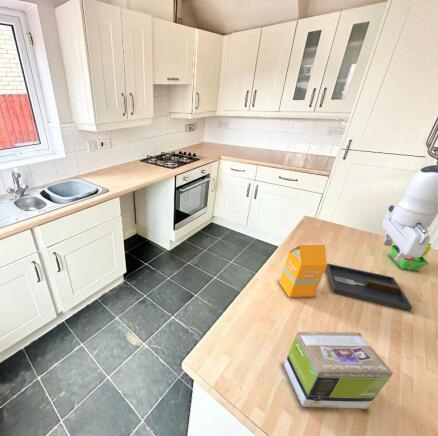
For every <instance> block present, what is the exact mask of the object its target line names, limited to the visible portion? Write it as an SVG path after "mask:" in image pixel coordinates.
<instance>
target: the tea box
mask: <svg viewBox="0 0 438 436" xmlns="http://www.w3.org/2000/svg"><path fill="white" fill-rule="evenodd" d="M283 367H284V370H285V371H286V373H287V375H288V378H289V380H290V383H291V385H292V386H293V389H294V391H295V393H296V396H297V398H298V400H299V402H300V404H301V405H302V407H308V408H336V409H362V410H363V409H368V408H369V406H370V405H371V403H372V402H373V400H374V399H375V398H376V397H377V396H378V394H379V393H380V392H381V391H382V389H383V388H384V386H385V385H386V383H388V381H389V379H390V378H391V377H392V375H393V374H394V372H393V371H392V370H391V369H390V367H389V366H388V365H387V364H386V362H384V361H383V359H382V358H381V357H380V356H379V355H378V353H377V352H376V351H375V350H374V349H373V347H372V346H371V345H370V344H369V342H368V341H367V340H366V339H365V338H364V337H363V335H362V334H361V332H354V331H353V332H351V331H297V333H296V335H295V337H294V339H293V342H292V345H291V348H290V350H289V352H288V354H287V357H286V359H285V362H284V366H283Z"/></svg>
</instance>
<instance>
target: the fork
mask: <svg viewBox="0 0 438 436" xmlns="http://www.w3.org/2000/svg"><path fill="white" fill-rule="evenodd" d="M334 280H335V281H336V282H340V283H345V284H348V285H353V286H356V285H359V286H363V287H366V288H370V289H374V290H379V291H383V292H388V293H392V294H397V292H398V291H399V289H400V288H401V287H400V286H399V287H400V288H399V287H398V286H397V285H392V284H387V283H383V282H378V281H374V280H369V279H367V280H366V281H365V283H364V284H361V283H356V282H354V280H349V279H344V278H340V277H335V276H334Z"/></svg>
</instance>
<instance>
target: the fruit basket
mask: <svg viewBox="0 0 438 436" xmlns="http://www.w3.org/2000/svg"><path fill="white" fill-rule="evenodd" d="M431 245H432V243H430V242H429V244H428V246H427V248H426V250H425V252H424V253H423V255H422V256H421V257H419V258H415V257H410V256H408V257H406V258H404V260H403V261H402V262H399V261H396V260H395V259H394V257H395V255H396V254H399V253H400V252H399V251H400V249H399V247H398V246H397V245H396V244H391V246H390V255H389V256H390V258H392V260H393V261H394V262H395V263H396V264H397V265H398V266H399V268H401V269H403V270H409V271H415V272H417V271H419V270H420V269H421V268H424V266H426V265H428V264H430V263H429V261H428V260H427V259H425V258H424V257H425V256H427V254H428V253H429V252H430V250H431V249H432V246H431Z"/></svg>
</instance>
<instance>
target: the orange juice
mask: <svg viewBox="0 0 438 436" xmlns="http://www.w3.org/2000/svg"><path fill="white" fill-rule="evenodd" d="M326 250H327V249H326V244H302V245H301V244H300V245H298V246H296V247H295V248H292V250H290V251H289V252H288V253H287V257H286V260H285V264H284V265H283V269H282V273H281V276H280V278H279V284H280V285H281V287H282V288H283V290H284V291H285V293H286V294H287V296H288V298H305V297H306V298H307V297H308V298H309V297H315V294H316V292H317V290H318V287H319V285H320V284H321V281H322V278H323V276H324V273H325V271H326V267H327V263H328V262H327V261H328V260H327V253H326Z"/></svg>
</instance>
